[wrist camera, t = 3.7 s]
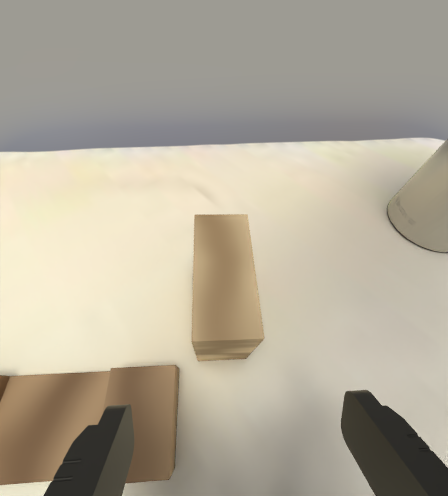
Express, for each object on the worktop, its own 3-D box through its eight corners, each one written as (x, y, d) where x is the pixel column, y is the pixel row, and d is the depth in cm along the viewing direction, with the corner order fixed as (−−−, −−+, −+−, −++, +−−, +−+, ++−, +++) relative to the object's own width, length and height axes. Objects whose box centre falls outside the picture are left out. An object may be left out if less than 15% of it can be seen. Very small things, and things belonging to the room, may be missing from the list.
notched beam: (179, 368, 19) (175, 365, 17) (174, 468, 16) (169, 479, 14) (-47, 380, 18) (-82, 377, 16) (-103, 490, 14) (-156, 506, 12)
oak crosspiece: (237, 264, 24) (247, 214, 18) (245, 358, 20) (264, 338, 13) (198, 265, 24) (194, 214, 17) (197, 361, 19) (191, 341, 13)
